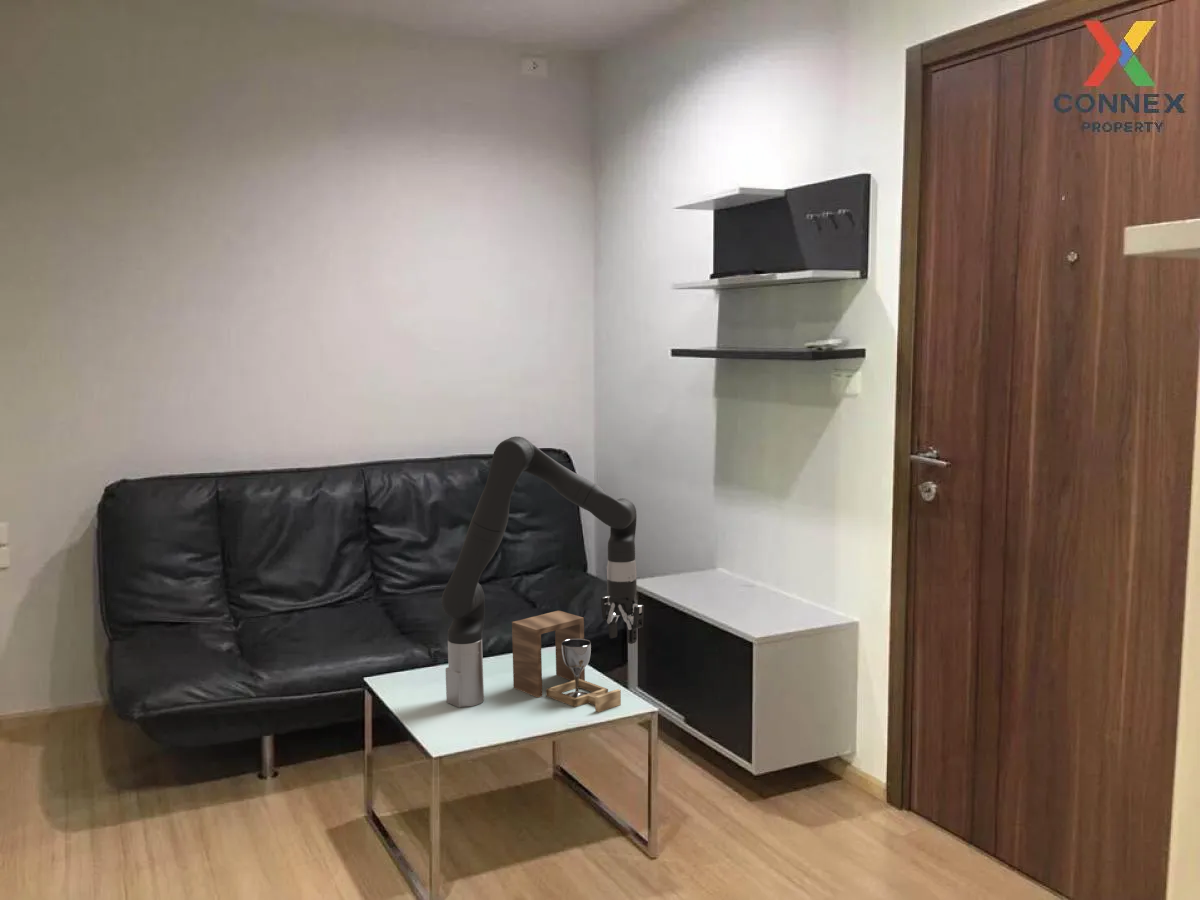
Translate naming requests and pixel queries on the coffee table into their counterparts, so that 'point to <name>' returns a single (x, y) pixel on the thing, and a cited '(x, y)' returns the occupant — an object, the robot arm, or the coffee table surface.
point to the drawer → (597, 697)
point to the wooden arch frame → (529, 648)
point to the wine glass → (576, 659)
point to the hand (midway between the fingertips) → (622, 640)
